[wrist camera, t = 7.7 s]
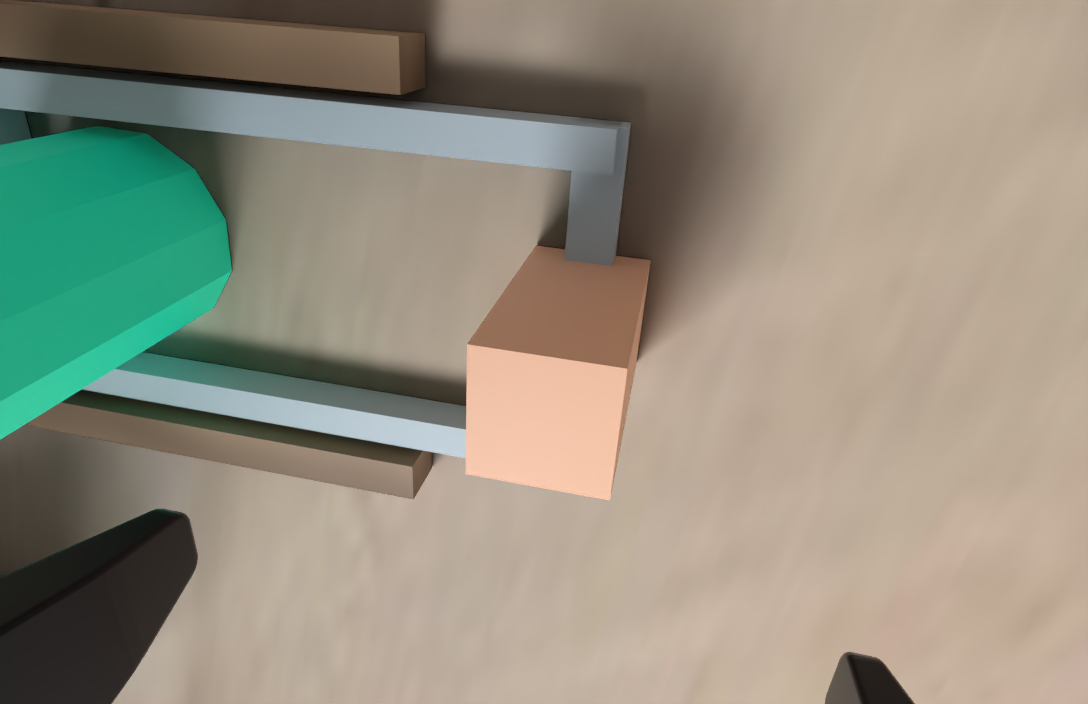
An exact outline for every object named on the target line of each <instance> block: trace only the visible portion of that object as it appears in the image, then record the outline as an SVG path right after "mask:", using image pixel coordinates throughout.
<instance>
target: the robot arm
mask: <svg viewBox="0 0 1088 704" xmlns="http://www.w3.org/2000/svg"><path fill="white" fill-rule="evenodd" d="M197 560H198V554H197V549H196V545H195V541H194V536H193V532H192V527H191V523H190V520H189V518H188V517H187V515H186V514H184V513H181V512H177V511H172V510H167V509H155V510H153V511H150V512H148V513H145V514H143V515H141V516H139V517H136V518H134V519H132V520H130V521H127V522H125V523H123V524H121V525H118V526H116V527H114V528H112V529H109V530H107V531H105V532H103V533H100V534H98V535H96V536H94V537H91V538H89V539H87V540H85V541H82V542H80V543H78V544H76V545H73V546H71V547H69V548H66V549H64V550H62V551H60V552H57V553H55V554H53V555H51V556H48V557H46V558H44V559H42V560H39V561H37V562H35V563H33V564H30V565H28V566H26V567H24V568H21V569H19V570H17V571H15V572H12V573H10V574H8V575H6V576H3V577H1V578H0V704H112V702H113V701H114V700H115V698H116V697H117V696H118V694H119V693H120V691H121V690H122V689H123V687H124V686H125V684H126V683H127V681H128V680H129V679H130V677H131V676H132V674H133V673H134V671H135V670H136V668H137V667H138V665H139V664H140V662H141V660H142V659H143V657H144V656H145V654H146V652H147V651H148V649H149V647H150V646H151V644H152V642H153V641H154V639H155V637H156V636H157V634H158V632H159V631H160V629H161V627H162V625H163V624H164V622H165V620H166V619H167V617H168V615H169V614H170V612H171V610H172V609H173V607H174V605H175V604H176V602H177V600H178V598H179V597H180V595H181V593H182V592H183V590H184V588H185V587H186V585H187V583H188V582H189V580H190V578H191V577H192V575H193V573H194V571H195V568H196V565H197ZM825 704H915V703H914V702H913V701H912V699H911V698H910V697H909V696H908V694H907V693H906V692H905V690H904V689H903V688H902V686H901V685H900V684H899V682H898V681H897V680H896V678H895V677H894V676H893V674H892V673H891V672H890V670H889V669H888V668H887V666H886V665H885V664H884V663H883V662H882V661H881V660H880V659H878V658H876V657H872V656H867V655H862V654H857V653H853V652H846V653H844V654H843V655H842V657H841V658H840V660H839V663H838V666H837V668H836V671H835V673H834V676H833V679H832V681H831V684H830V686H829V689H828V692H827V695H826V699H825Z"/></svg>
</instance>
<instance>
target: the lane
mask: <svg viewBox="0 0 1088 704" xmlns="http://www.w3.org/2000/svg"><path fill="white" fill-rule="evenodd" d="M0 56H1V57H11V58H22V59H32V60H42V61H53V62H63V63H73V64H84V65H94V66H105V67H115V68H125V69H136V70H146V71H156V72H167V73H177V74H188V75H198V76H208V77H219V78H229V79H239V80H250V81H260V82H271V83H281V84H291V85H302V86H312V87H322V88H333V89H343V90H354V91H364V92H374V93H385V94H395V95H402V94H406V93H409V92H412V91H416V90H419V89H422V88H426V72H425V33H413V32H401V31H388V30H376V29H364V28H351V27H339V26H327V25H315V24H302V23H290V22H278V21H265V20H253V19H241V18H229V17H216V16H204V15H192V14H180V13H167V12H155V11H143V10H130V9H118V8H106V7H94V6H81V5H69V4H57V3H44V2H32V1H20V0H0ZM25 425H27V426H32V427H37V428H43V429H48V430H53V431H58V432H64V433H69V434H74V435H79V436H85V437H90V438H95V439H100V440H105V441H111V442H116V443H121V444H126V445H132V446H137V447H142V448H147V449H153V450H158V451H163V452H168V453H174V454H179V455H184V456H189V457H195V458H200V459H205V460H210V461H215V462H221V463H226V464H231V465H236V466H242V467H247V468H252V469H257V470H263V471H268V472H273V473H278V474H284V475H289V476H294V477H299V478H305V479H310V480H315V481H320V482H325V483H331V484H336V485H341V486H346V487H352V488H357V489H362V490H367V491H373V492H378V493H383V494H388V495H394V496H399V497H404V498H409V499H414V497H415V496H416V494H417V492H418V491H419V489H420V487H421V486H422V484H423V482H424V480H425V479H426V477H427V475H428V474H429V472H430V470H431V469H432V452H428V451H423V450H417V449H412V448H406V447H400V446H395V445H389V444H384V443H378V442H373V441H367V440H361V439H356V438H350V437H345V436H339V435H333V434H328V433H322V432H317V431H311V430H306V429H300V428H294V427H289V426H283V425H278V424H272V423H266V422H261V421H255V420H250V419H244V418H239V417H233V416H227V415H222V414H216V413H211V412H205V411H199V410H194V409H188V408H183V407H177V406H172V405H166V404H160V403H155V402H149V401H144V400H138V399H132V398H127V397H121V396H116V395H110V394H105V393H99V392H93V391H88V390H82V389H81V390H80V391H78V392H77V393H75V394H73V395H72V396H70V397H69V398H67V399H65V400H64V401H62V402H60V403H59V404H57V405H56V406H54V407H52V408H51V409H49V410H47V411H46V412H44V413H43V414H41V415H39V416H38V417H36V418H35V419H33V420H31V421H30V422H28V423H26V424H25Z"/></svg>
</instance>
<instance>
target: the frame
mask: <svg viewBox="0 0 1088 704" xmlns="http://www.w3.org/2000/svg"><path fill="white" fill-rule="evenodd" d="M24 111H31V112H40V113H49V114H58V115H67V116H76V117H86V118H95V119H104V120H113V121H122V122H131V123H140V124H149V125H158V126H167V127H177V128H186V129H195V130H204V131H213V132H222V133H231V134H240V135H249V136H259V137H268V138H277V139H286V140H295V141H304V142H313V143H322V144H331V145H340V146H350V147H359V148H368V149H377V150H386V151H395V152H404V153H413V154H422V155H432V156H441V157H450V158H459V159H468V160H477V161H486V162H495V163H504V164H514V165H523V166H532V167H541V168H550V169H559V170H568V171H572V172H571V184H570V197H569V209H568V222H567V234H566V247H565V249H559V248H551V247H543V246H536V247H535V248H534V249H533V251H532V252H531V254H530V255H529V257H528V258H527V259H526V261H525V262H524V264H523V265H522V267H521V268H520V269H519V271H518V272H517V274H516V275H515V277H514V278H513V279H512V281H511V282H510V284H509V285H508V287H507V288H506V289H505V291H504V292H503V294H502V295H501V297H500V298H499V299H498V301H497V302H496V304H495V305H494V307H493V308H492V309H491V311H490V312H489V314H488V315H487V317H486V318H485V319H484V321H483V322H482V324H481V325H480V327H479V328H478V329H477V331H476V332H475V334H474V335H473V337H472V338H471V339H470V341H469V342H468V344H467V391H466V406H462V405H456V404H450V403H445V402H439V401H433V400H427V399H421V398H415V397H409V396H403V395H397V394H391V393H385V392H379V391H373V390H367V389H361V388H355V387H349V386H343V385H337V384H331V383H325V382H319V381H313V380H307V379H301V378H295V377H289V376H283V375H277V374H271V373H265V372H259V371H253V370H247V369H241V368H235V367H229V366H223V365H217V364H211V363H205V362H199V361H193V360H187V359H181V358H175V357H169V356H163V355H157V354H151V353H145V352H141V353H140V354H138V355H137V356H135V357H133V358H132V359H130V360H128V361H127V362H125V363H124V364H122V365H120V366H119V367H117V368H115V369H114V370H112V371H111V372H109V373H107V374H106V375H104V376H103V377H101V378H99V379H98V380H96V381H94V382H93V383H91V384H90V385H88V386H86V387H85V388H83V389H82V390H88V391H93V392H99V393H105V394H110V395H116V396H121V397H127V398H132V399H138V400H144V401H149V402H155V403H160V404H166V405H172V406H177V407H183V408H188V409H194V410H199V411H205V412H211V413H216V414H222V415H227V416H233V417H239V418H244V419H250V420H255V421H261V422H266V423H272V424H278V425H283V426H289V427H294V428H300V429H306V430H311V431H317V432H322V433H328V434H333V435H339V436H345V437H350V438H356V439H361V440H367V441H373V442H378V443H384V444H389V445H395V446H400V447H406V448H412V449H417V450H423V451H428V452H434V453H440V454H445V455H451V456H456V457H462V458H466V474H468V475H474V476H479V477H485V478H490V479H496V480H501V481H507V482H512V483H518V484H523V485H528V486H534V487H539V488H545V489H550V490H556V491H561V492H567V493H572V494H578V495H583V496H589V497H594V498H600V499H605V500H610V497H611V492H612V487H613V482H614V477H615V471H616V466H617V461H618V456H619V451H620V446H621V440H622V435H623V430H624V425H625V420H626V414H627V409H628V404H629V399H630V394H631V388H632V383H633V378H634V373H635V368H636V362H637V355H638V348H639V341H640V334H641V327H642V319H643V312H644V305H645V298H646V291H647V284H648V277H649V270H650V263H651V260H645V259H637V258H630V257H622V256H616V250H617V241H618V232H619V224H620V215H621V206H622V198H623V189H624V181H625V172H626V163H627V155H628V146H629V137H630V129H631V122H621V121H610V120H600V119H590V118H580V117H569V116H559V115H549V114H539V113H528V112H518V111H508V110H498V109H487V108H477V107H467V106H457V105H446V104H436V103H426V102H416V101H405V100H395V99H385V98H375V97H364V96H354V95H344V94H334V93H323V92H313V91H303V90H293V89H282V88H272V87H262V86H252V85H241V84H231V83H221V82H211V81H200V80H190V79H180V78H170V77H159V76H149V75H139V74H129V73H118V72H108V71H98V70H88V69H77V68H67V67H57V66H47V65H36V64H26V63H16V62H6V61H0V145H3V144H8V143H13V142H18V141H23V140H28V139H32V138H31V134H30V131H29V127H28V123H27V120H26V116H25V112H24Z"/></svg>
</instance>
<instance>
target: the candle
mask: <svg viewBox="0 0 1088 704" xmlns="http://www.w3.org/2000/svg"><path fill="white" fill-rule="evenodd" d="M231 272H232V266H231V258H230V250H229V241H228V233H227V225H226V219H225V218H224V216H223V214H222V213H221V211H220V209H219V208H218V206H217V204H216V203H215V201H214V200H213V198H212V196H211V195H210V193H209V191H208V190H207V188H206V186H205V185H204V183H203V181H202V180H201V178H200V176H199V175H198V173H197V172H196V170H195V169H194V168H193V167H192V166H190V165H189V164H188V163H186V162H185V161H184V160H182V159H181V158H180V157H178V156H177V155H175V154H174V153H173V152H171V151H170V150H169V149H167V148H166V147H165V146H163V145H162V144H160V143H159V142H158V141H156V140H155V139H154V138H152V137H151V136H150V135H148V134H147V133H141V132H134V131H128V130H121V129H115V128H108V127H102V126H93V127H88V128H83V129H78V130H73V131H68V132H63V133H58V134H53V135H48V136H43V137H38V138H33V139H28V140H23V141H18V142H13V143H8V144H3V145H0V440H1V439H2V438H4V437H5V436H7V435H9V434H10V433H12V432H14V431H15V430H17V429H18V428H20V427H22V426H23V425H25V424H26V423H28V422H30V421H31V420H33V419H35V418H36V417H38V416H39V415H41V414H43V413H44V412H46V411H47V410H49V409H51V408H52V407H54V406H56V405H57V404H59V403H60V402H62V401H64V400H65V399H67V398H69V397H70V396H72V395H73V394H75V393H77V392H78V391H80V390H81V389H83V388H85V387H86V386H88V385H90V384H91V383H93V382H94V381H96V380H98V379H99V378H101V377H103V376H104V375H106V374H107V373H109V372H111V371H112V370H114V369H115V368H117V367H119V366H120V365H122V364H124V363H125V362H127V361H128V360H130V359H132V358H133V357H135V356H137V355H138V354H140V353H141V352H143V351H145V350H146V349H148V348H149V347H151V346H153V345H154V344H156V343H158V342H159V341H161V340H162V339H164V338H166V337H167V336H169V335H170V334H172V333H174V332H175V331H177V330H179V329H180V328H182V327H183V326H185V325H187V324H188V323H190V322H192V321H193V320H195V319H196V318H198V317H200V316H201V315H203V314H204V313H206V312H208V311H209V310H211V309H213V308H214V306H215V304H216V302H217V300H218V298H219V296H220V294H221V292H222V290H223V288H224V286H225V284H226V282H227V280H228V278H229V276H230V274H231Z"/></svg>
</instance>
